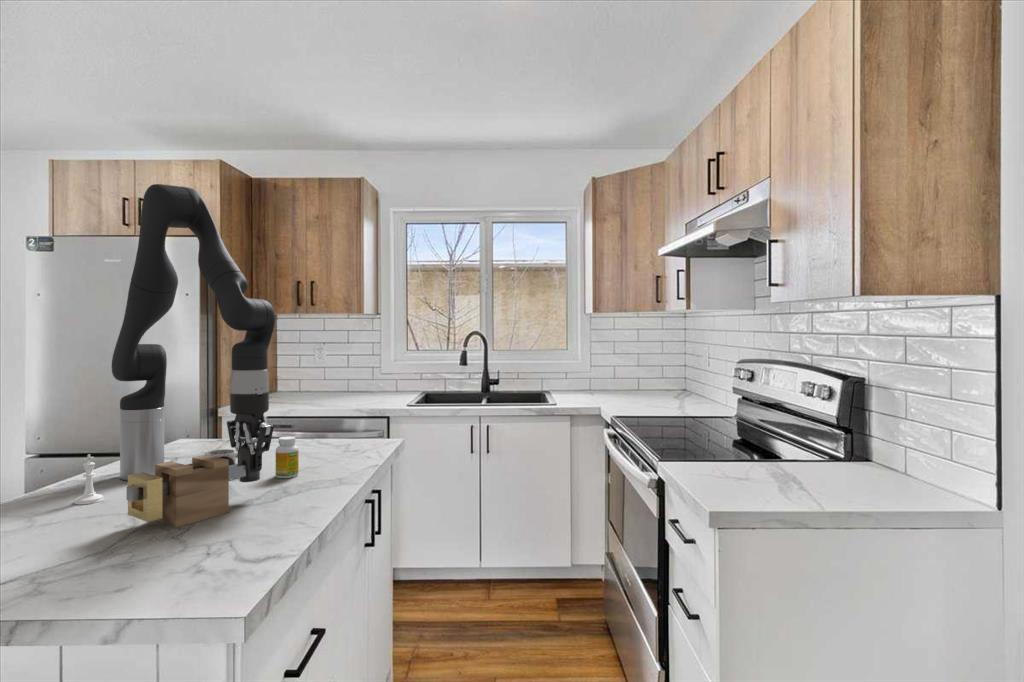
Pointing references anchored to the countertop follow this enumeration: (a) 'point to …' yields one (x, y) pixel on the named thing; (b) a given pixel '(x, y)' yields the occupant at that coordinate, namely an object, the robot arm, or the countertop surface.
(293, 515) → the countertop surface
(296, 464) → the supplement bottle
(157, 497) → the block
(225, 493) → the bearing block
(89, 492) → the chess piece
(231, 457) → the mug
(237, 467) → the shaft
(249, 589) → the countertop surface
